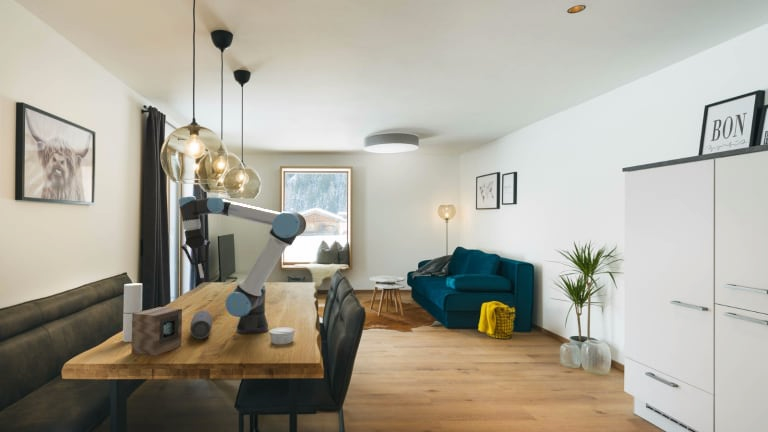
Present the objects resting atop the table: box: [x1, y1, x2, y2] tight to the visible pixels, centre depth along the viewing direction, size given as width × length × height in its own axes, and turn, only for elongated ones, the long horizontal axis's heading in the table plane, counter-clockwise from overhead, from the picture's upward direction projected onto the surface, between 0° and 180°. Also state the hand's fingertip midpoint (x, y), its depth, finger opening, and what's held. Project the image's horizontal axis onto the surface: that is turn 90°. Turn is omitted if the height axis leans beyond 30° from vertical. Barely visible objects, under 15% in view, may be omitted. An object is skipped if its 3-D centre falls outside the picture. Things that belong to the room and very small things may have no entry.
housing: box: [131, 306, 183, 357], centre depth 174 cm, size 12×14×16 cm
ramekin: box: [268, 326, 296, 345], centre depth 187 cm, size 11×11×5 cm
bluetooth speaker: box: [190, 310, 213, 339], centre depth 196 cm, size 23×9×10 cm, turn 22°
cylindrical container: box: [122, 282, 143, 343], centre depth 188 cm, size 7×7×25 cm
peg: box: [164, 323, 174, 335], centre depth 174 cm, size 12×5×5 cm, turn 74°
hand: (202, 277), depth 197 cm, fingers closed
